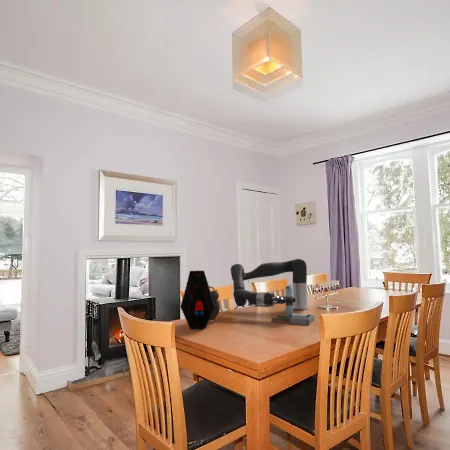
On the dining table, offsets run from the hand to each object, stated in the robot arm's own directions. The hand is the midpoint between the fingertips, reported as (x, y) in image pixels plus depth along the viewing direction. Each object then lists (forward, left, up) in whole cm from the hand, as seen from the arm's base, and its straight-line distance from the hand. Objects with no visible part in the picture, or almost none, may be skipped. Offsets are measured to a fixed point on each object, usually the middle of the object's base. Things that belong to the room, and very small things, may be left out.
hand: (294, 300), depth 190 cm
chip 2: (0, +5, -11) cm, 13 cm away
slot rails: (0, -6, -11) cm, 13 cm away
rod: (0, -3, -10) cm, 10 cm away
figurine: (+34, -42, -11) cm, 55 cm away
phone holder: (-44, -37, -12) cm, 59 cm away
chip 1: (0, +1, -11) cm, 11 cm away
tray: (0, +4, -11) cm, 12 cm away
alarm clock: (+20, -45, -11) cm, 50 cm away
